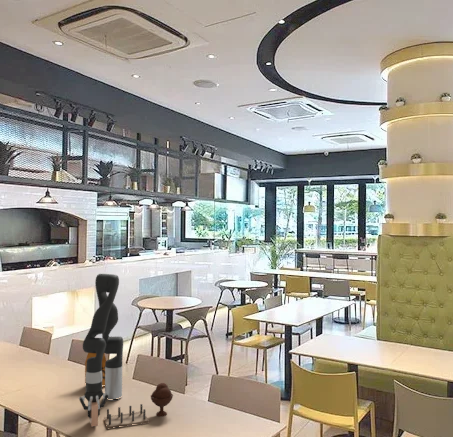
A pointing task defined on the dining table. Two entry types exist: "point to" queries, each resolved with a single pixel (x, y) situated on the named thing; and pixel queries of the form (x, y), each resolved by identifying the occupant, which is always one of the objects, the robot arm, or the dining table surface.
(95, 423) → the peach chamfered block
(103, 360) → the coffee package
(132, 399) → the dining table surface
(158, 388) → the ice cream bowl
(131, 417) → the dish rack
